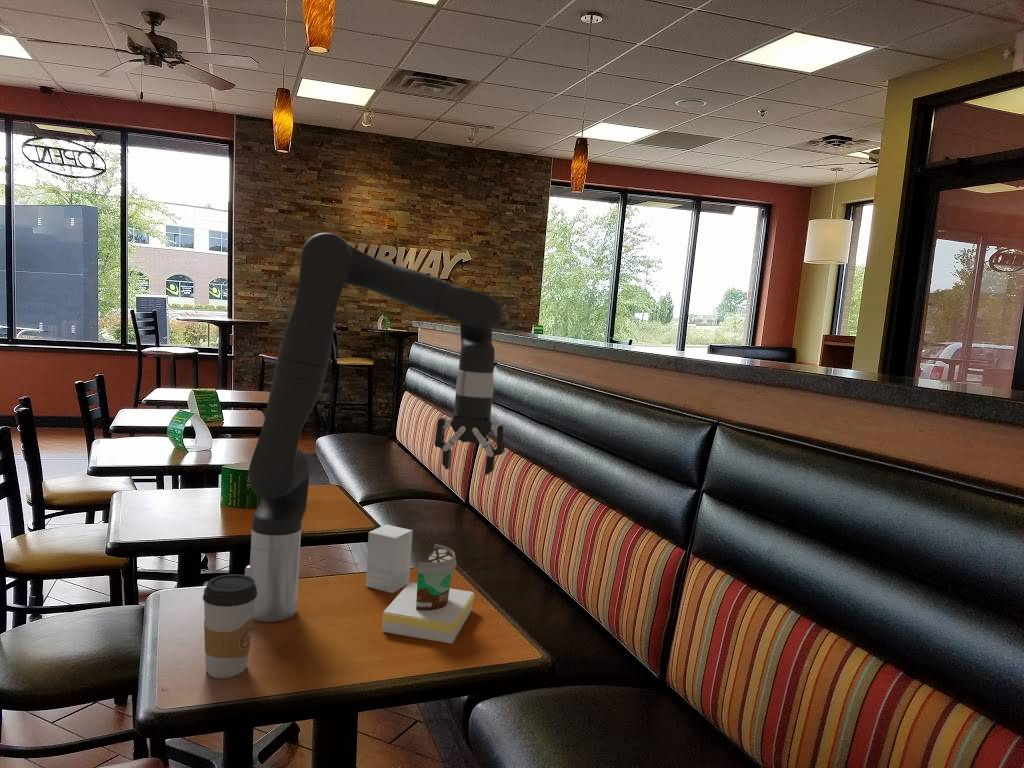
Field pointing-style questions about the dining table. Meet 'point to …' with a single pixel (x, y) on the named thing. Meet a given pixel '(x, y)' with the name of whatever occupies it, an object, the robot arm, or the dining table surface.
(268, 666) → the dining table surface
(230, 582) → the coffee cup
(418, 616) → the white flat block
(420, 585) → the food container
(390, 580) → the supplement box
